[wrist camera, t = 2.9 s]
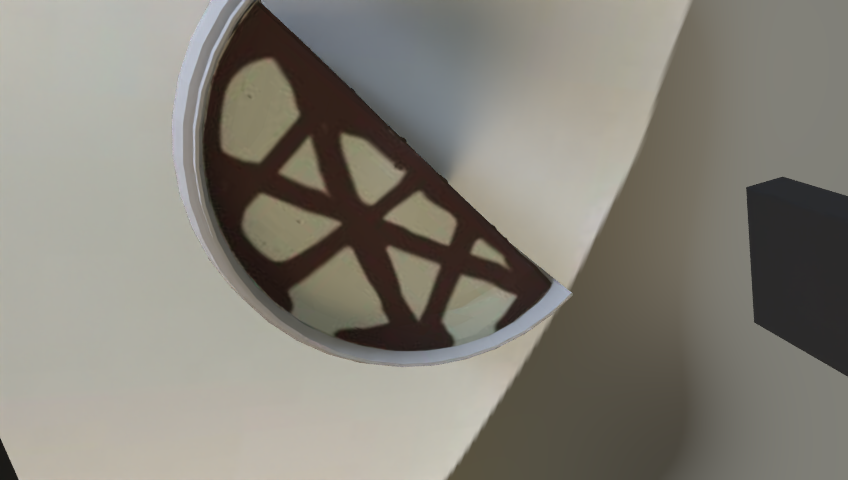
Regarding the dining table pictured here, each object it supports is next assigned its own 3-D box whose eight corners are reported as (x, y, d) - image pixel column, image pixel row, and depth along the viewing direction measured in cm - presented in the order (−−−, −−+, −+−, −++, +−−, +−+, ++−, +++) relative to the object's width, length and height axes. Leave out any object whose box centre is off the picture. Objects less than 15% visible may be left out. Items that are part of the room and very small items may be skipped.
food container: (100, 115, 26) (45, 178, 17) (224, -21, 26) (237, -33, 17) (364, 329, 31) (432, 468, 22) (470, 214, 31) (585, 306, 22)
